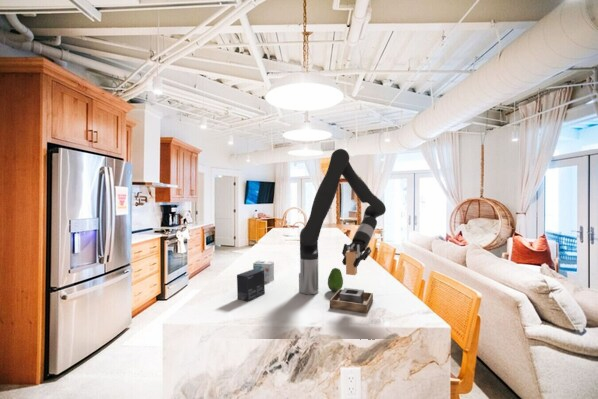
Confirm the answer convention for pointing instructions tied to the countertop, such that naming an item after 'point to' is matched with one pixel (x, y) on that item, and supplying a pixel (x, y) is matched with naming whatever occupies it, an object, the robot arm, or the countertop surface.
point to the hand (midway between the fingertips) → (349, 265)
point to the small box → (250, 284)
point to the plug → (351, 262)
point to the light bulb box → (265, 269)
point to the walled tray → (351, 305)
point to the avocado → (335, 280)
